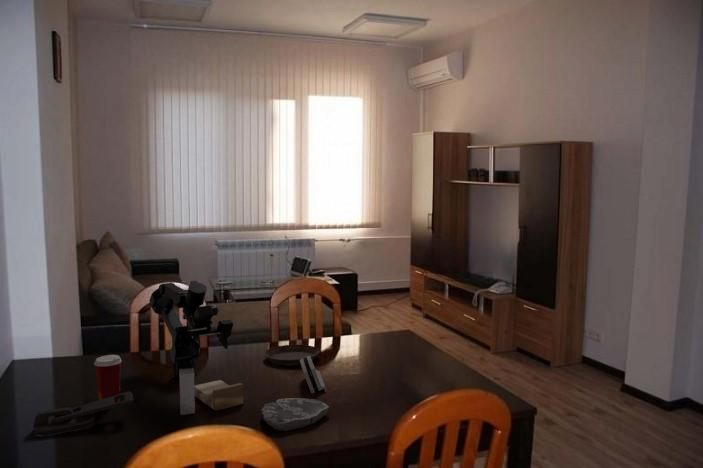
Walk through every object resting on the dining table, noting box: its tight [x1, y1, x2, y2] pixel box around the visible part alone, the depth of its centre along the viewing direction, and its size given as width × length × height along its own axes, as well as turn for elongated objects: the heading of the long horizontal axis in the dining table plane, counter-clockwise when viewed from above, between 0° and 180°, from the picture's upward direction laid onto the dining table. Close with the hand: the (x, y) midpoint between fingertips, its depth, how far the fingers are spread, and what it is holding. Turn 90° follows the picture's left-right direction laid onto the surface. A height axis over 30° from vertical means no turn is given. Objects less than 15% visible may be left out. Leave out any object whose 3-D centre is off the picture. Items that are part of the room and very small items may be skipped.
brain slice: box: [260, 397, 330, 432], centre depth 163 cm, size 20×17×3 cm
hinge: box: [300, 356, 327, 394], centre depth 191 cm, size 17×5×10 cm, turn 10°
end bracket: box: [179, 368, 196, 416], centre depth 166 cm, size 5×4×12 cm
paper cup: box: [93, 354, 122, 403], centre depth 174 cm, size 8×8×14 cm
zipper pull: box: [33, 391, 134, 437], centre depth 159 cm, size 9×7×25 cm
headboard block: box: [194, 379, 244, 411], centre depth 177 cm, size 16×9×6 cm, turn 38°
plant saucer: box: [264, 344, 320, 367], centre depth 219 cm, size 21×21×3 cm
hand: (212, 350), depth 177 cm, fingers open, 9 cm apart
